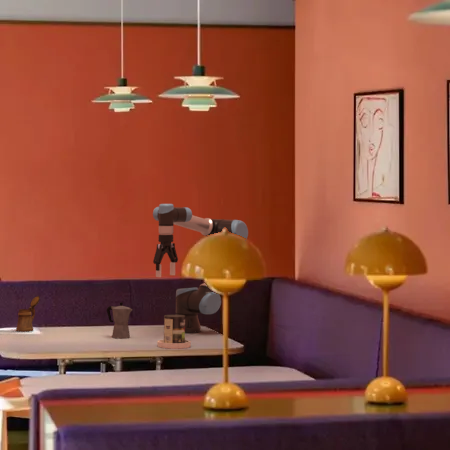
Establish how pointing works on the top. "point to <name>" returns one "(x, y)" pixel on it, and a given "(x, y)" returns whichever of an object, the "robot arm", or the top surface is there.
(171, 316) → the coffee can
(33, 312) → the brown tapered pot
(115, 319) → the coffeepot
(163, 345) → the round dish
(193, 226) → the robot arm
